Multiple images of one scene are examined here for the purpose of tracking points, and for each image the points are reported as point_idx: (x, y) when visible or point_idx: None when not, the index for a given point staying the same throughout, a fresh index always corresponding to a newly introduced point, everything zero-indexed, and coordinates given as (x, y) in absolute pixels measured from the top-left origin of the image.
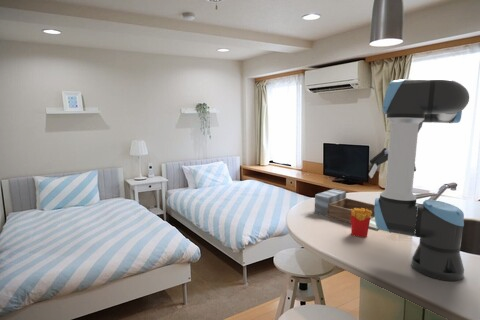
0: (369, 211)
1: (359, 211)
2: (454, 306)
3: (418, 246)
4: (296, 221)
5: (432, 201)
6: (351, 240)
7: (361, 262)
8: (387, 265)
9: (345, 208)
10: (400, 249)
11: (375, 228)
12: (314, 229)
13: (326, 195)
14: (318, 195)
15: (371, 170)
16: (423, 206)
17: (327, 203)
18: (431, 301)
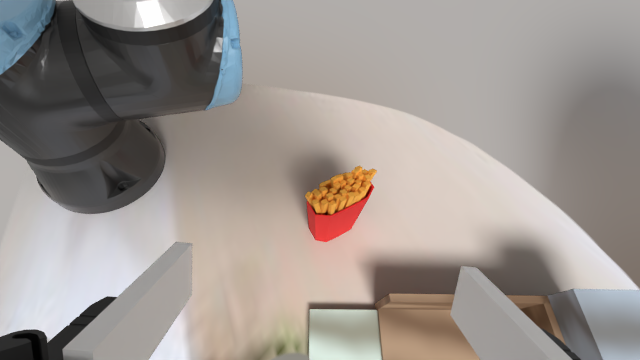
0: (315, 193)
1: (346, 180)
2: None
3: (133, 124)
4: (508, 186)
5: (4, 10)
6: (326, 176)
7: (256, 101)
8: (209, 119)
9: None
10: (202, 212)
11: (317, 309)
12: (434, 172)
13: (616, 321)
14: (627, 290)
15: (500, 298)
16: (56, 2)
17: (552, 294)
18: None
